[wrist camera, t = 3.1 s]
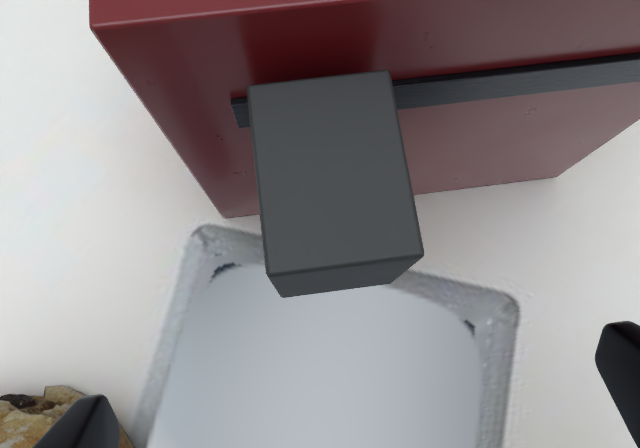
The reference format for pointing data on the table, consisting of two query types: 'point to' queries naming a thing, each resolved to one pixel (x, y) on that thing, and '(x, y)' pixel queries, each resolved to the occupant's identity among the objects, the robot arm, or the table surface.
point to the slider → (332, 183)
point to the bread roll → (37, 416)
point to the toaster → (406, 74)
